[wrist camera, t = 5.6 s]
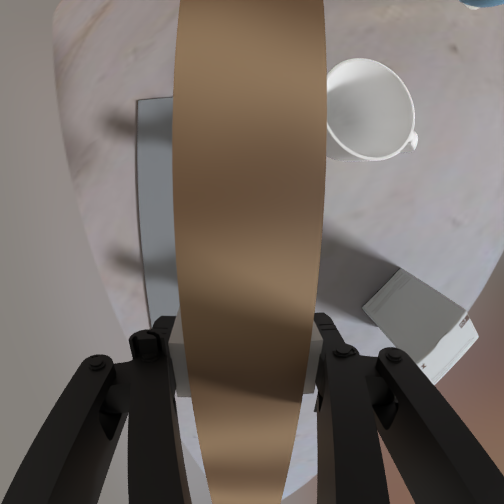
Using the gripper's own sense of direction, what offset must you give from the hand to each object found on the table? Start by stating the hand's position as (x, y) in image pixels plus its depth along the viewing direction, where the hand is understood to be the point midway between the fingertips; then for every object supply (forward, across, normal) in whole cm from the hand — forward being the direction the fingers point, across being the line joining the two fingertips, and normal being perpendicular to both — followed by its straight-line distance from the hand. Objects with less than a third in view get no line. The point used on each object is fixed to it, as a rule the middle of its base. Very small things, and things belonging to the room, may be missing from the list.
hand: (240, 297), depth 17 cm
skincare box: (+19, +22, -10) cm, 31 cm away
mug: (+19, +12, +12) cm, 26 cm away
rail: (-3, 0, 0) cm, 3 cm away
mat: (+19, -8, 0) cm, 21 cm away
